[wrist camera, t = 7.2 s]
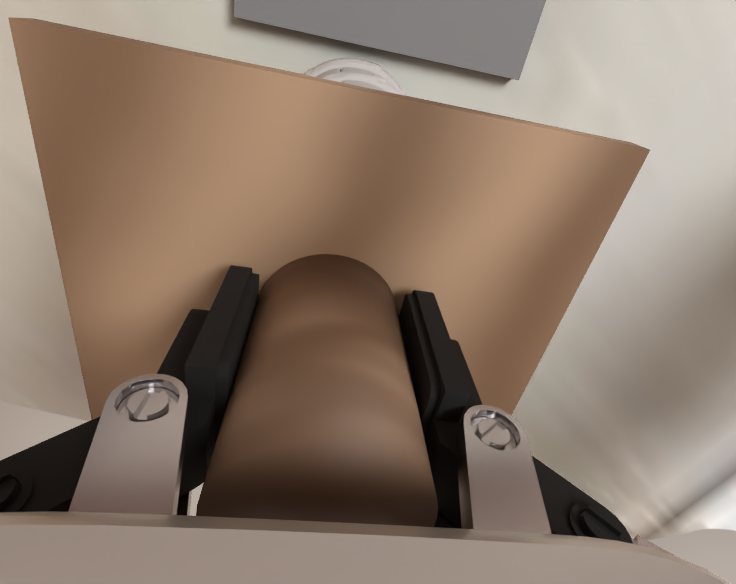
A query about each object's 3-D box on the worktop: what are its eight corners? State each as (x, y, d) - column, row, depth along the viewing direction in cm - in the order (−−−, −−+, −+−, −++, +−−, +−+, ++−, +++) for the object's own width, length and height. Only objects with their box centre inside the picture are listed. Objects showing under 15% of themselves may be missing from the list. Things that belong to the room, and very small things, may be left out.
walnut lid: (630, 142, 11) (963, 269, 5) (479, 446, 17) (552, 661, 11) (34, 18, 9) (-555, -5, 3) (106, 417, 15) (-41, 662, 9)
